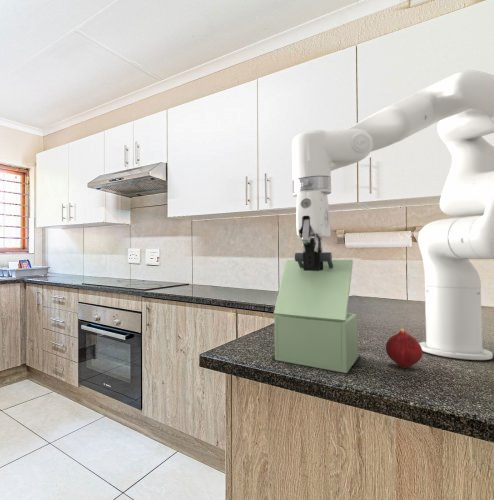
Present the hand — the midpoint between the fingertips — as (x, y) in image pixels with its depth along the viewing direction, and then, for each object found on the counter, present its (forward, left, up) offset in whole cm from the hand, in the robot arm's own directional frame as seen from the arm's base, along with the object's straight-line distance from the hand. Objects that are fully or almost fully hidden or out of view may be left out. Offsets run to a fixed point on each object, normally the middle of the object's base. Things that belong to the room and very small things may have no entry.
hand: (313, 269), depth 77 cm
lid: (0, 0, -4) cm, 4 cm away
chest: (-2, 0, -20) cm, 20 cm away
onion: (-6, +15, -20) cm, 26 cm away
